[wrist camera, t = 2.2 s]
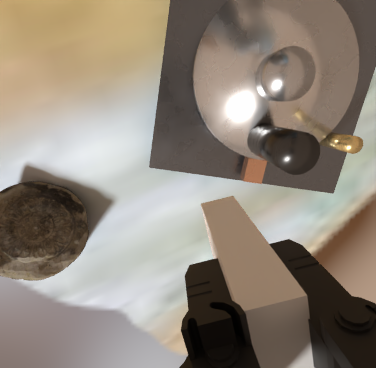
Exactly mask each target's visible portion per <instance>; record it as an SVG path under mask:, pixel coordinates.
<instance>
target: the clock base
mask: <svg viewBox="0 0 376 368" xmlns="http://www.w3.org/2000/svg"><path fill="white" fill-rule="evenodd" d="M227 1H228V0H170V7H169V15H168V23H167V31H166V39H165V47H164V55H163V63H162V71H161V78H160V86H159V94H158V102H157V110H156V118H155V126H154V134H153V142H152V149H151V157H150V165H149V167H150V168H157V169H164V170H171V171H178V172H185V173H192V174H199V175H206V176H214V177H221V178H228V179H235V180H242V179H241V178H240V175H241V171H242V166H243V162H244V158H245V156H244V155H241V154H239V153H237V152H235V151H233V150H231V149H230V148H228V147H227V146H225V145H224V144H223V143H221V142H220V141H219V140H218V139H217V138H216V137H215V136H214V135H213V134H212V133H211V132H210V130H209V129H208V128H207V126H206V125H205V123H204V121H203V119H202V118H201V115H200V113H199V111H198V108H197V105H196V101H195V97H194V91H193V66H194V60H195V56H196V52H197V49H198V46H199V43H200V40H201V38H202V36H203V34H204V32H205V30H206V28H207V26H208V25H209V23H210V22H211V20H212V19H213V17H214V16H215V14H216V13H217V12H218V11H219V10H220V8H221V7H222V6H223V5H224V4H225V3H226V2H227ZM336 1H337V2H338V3H339V4H340V5H341V6H342V8H343V9H344V11H345V12H346V13H347V15H348V17H349V19H350V21H351V23H352V26H353V28H354V31H355V34H356V38H357V43H358V49H359V73H358V80H357V84H356V88H355V92H354V95H353V97H352V100H351V102H350V105H349V106H348V108H347V110H346V112H345V114H344V116H343V117H342V119H341V120H340V122H339V123H338V124H337V126H336V127H335V128H334V129H333V130H332V132H330V133H329V134H328V135H327V136H326V137H325V138H324V139H323V140H322V141H320V142H319V145H320V156H319V159H318V161H317V163H316V165H315V166H314V167H313V168H312V169H311V170H309V171H308V172H306V173H304V174H300V175H292V174H289V173H287V172H285V171H283V170H281V169H280V168H278V167H276V166H274V165H273V164H271V163H269V162H267V164H266V168H265V172H264V176H263V180H262V183H263V184H270V185H277V186H284V187H291V188H298V189H306V190H313V191H320V192H327V193H334V190H335V187H336V184H337V181H338V178H339V175H340V172H341V169H342V166H343V163H344V160H345V157H346V154H347V152H348V153H352V154H355V153H357V152H359V151H360V150H361V149H362V147H363V140H362V139H361V138H360V137H357V136H353V133H354V130H355V127H356V124H357V121H358V118H359V115H360V112H361V109H362V106H363V103H364V100H365V97H366V94H367V91H368V88H369V85H370V82H371V79H372V76H373V73H374V70H375V67H376V0H336ZM242 181H243V180H242Z"/></svg>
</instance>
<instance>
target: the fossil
mask: <svg viewBox="0 0 376 368" xmlns="http://www.w3.org/2000/svg"><path fill="white" fill-rule="evenodd" d="M88 234H89V230H88V222H87V213H86V210H85V207H84V205H83V203H82V202H81V201H80V199H79V198H78V197H76V196H75V195H74V194H73V193H72V192H71V191H69V190H68V189H66V188H63V187H59V186H54V185H51V184H49V183H43V182H39V181H37V182H25V183H19V184H16V185H13V186H10V187H8V188H6V189H4V190H2V191H1V192H0V276H3V277H8V278H12V279H23V280H42V279H46V278H48V277H51V276H54V275H55V274H57V273H59V272H61V271H62V270H64V269H65V268H66V267H68V266H69V265H70V264H71V263H72V262H74V261H75V259H76V258H77V257H78V256H79V255H80V254H81V252H82V251H83V249H84V247H85V245H86V242H87V238H88Z"/></svg>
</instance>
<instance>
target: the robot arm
mask: <svg viewBox="0 0 376 368" xmlns="http://www.w3.org/2000/svg"><path fill="white" fill-rule="evenodd" d="M201 207H202V211H203V215H204V220H205V224H206V228H207V232H208V237H209V241H210V245H211V249H212V254H213V257H214V259H212V260H208V261H204V262H200V263H196V264H192V265H190V266H189V268H188V270H187V272H186V274H185V281H186V291H187V298H188V299H187V300H188V309H189V310H188V312H187V314H186V315H185V317H184V318H183V321H182V327H181V332H182V335H183V338H184V342H185V345H186V348H187V352H188V356H187V358H186V360H185V362H184V363H183V364H182V365H181V366H180V368H376V304H375V303H373V302H370V301H368V300H365V299H362V298H359V297H353V296H351V295H350V294H349V293H348V292H347V291H346V290H345V289H344V288H343V287H342V286H341V285H340V284H339V283H338V281H337V280H336V279H335V278H334V277H333V276H332V275H331V274H330V273H329V272H328V271H327V270H326V269H325V268H324V267H323V266H322V265H321V264H319V262H318V261H317V260H316V259H315V258H314V257H313V256H311V254H310V253H309V252H308V251H307V250H306V249H305V248H304V247H303V246H302V245H300V244H298V243H296V242H294V241H292V240H289V239H288V240H284V241H280V242H276V243H272V244H269V243H268V242H267V241H266V239H265V238H264V237H263V235H262V234H261V233H260V231H259V230H258V229H257V227H256V226H255V225H254V223H253V222H252V221H251V219H250V218H249V217H248V215H247V214H246V213H245V211H244V210H243V209H242V207H241V206H240V205H239V203H238V202H237V201H236V199H235V198H234V197H233V196H230V197H226V198H222V199H218V200H214V201H210V202H206V203H202V204H201Z"/></svg>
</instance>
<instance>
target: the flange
mask: <svg viewBox="0 0 376 368" xmlns="http://www.w3.org/2000/svg"><path fill="white" fill-rule="evenodd" d="M358 73H359V49H358V43H357V38H356V34H355V31H354V28H353V26H352V23H351V21H350V19H349V17H348V15H347V13H346V12H345V11H344V9H343V8H342V6H341V5H340V4H339V3H338V2H337V1H336V0H228V1H227V2H226V3H225V4H224V5H223V6H222V7H221V8H220V10H219V11H218V12H217V13H216V14H215V16H214V17H213V19H212V20H211V22H210V23H209V25H208V26H207V28H206V30H205V32H204V34H203V36H202V38H201V40H200V43H199V46H198V49H197V52H196V56H195V60H194V66H193V91H194V97H195V101H196V105H197V108H198V111H199V113H200V115H201V118H202V119H203V121H204V123H205V125H206V126H207V128H208V129H209V130H210V132H211V133H212V134H213V135H214V136H215V137H216V138H217V139H218V140H219V141H220V142H221V143H223V144H224V145H225V146H227V147H228V148H230V149H231V150H233V151H235V152H237V153H239V154H241V155H244V156H245V158H244V162H243V166H242V171H241V175H240V178H241V179H242V180H243V181H245V182H252V183H260V184H262V180H263V176H264V172H265V168H266V164H267V162H269V163H271V164H273V165H274V166H276V167H278V168H280V169H281V170H283V171H285V172H287V173H289V174H292V175H300V174H304V173H306V172H308V171H309V170H311V169H312V168H313V167H314V166H315V165H316V163H317V161H318V159H319V156H320V145H319V142H320V141H322V140H323V139H324V138H325V137H326V136H327V135H328V134H329V133H330V132H332V130H333V129H334V128H335V127H336V126H337V124H338V123H339V122H340V120H341V119H342V117H343V116H344V114H345V112H346V110H347V108H348V106H349V105H350V102H351V100H352V97H353V95H354V92H355V88H356V84H357V80H358Z"/></svg>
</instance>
